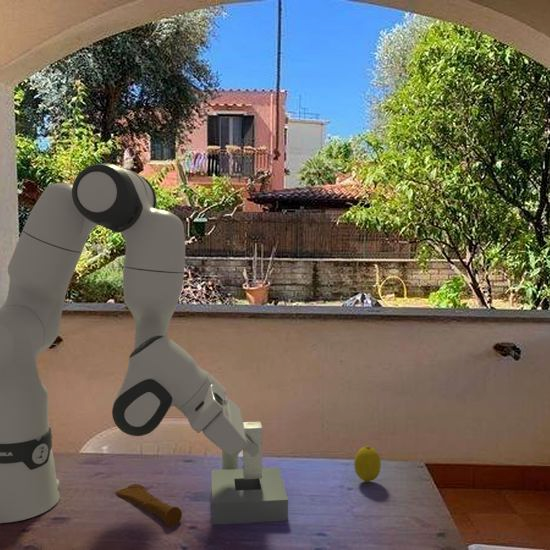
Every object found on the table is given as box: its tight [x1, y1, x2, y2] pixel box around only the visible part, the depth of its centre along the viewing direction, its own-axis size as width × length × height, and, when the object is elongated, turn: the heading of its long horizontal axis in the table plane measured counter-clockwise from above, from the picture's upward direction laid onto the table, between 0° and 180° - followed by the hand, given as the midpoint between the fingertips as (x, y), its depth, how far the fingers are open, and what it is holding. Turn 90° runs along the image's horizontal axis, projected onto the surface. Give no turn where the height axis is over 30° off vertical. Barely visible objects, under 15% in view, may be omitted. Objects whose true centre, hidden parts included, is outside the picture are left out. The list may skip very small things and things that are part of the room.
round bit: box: [221, 450, 239, 470], centre depth 120 cm, size 4×4×10 cm
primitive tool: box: [114, 483, 183, 527], centre depth 105 cm, size 19×6×4 cm, turn 45°
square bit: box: [242, 421, 263, 479], centre depth 105 cm, size 4×4×10 cm
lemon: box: [354, 445, 382, 483], centre depth 115 cm, size 6×6×8 cm
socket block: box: [211, 466, 289, 526], centre depth 106 cm, size 14×14×4 cm
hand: (255, 447), depth 105 cm, fingers closed on square bit, 3 cm apart
